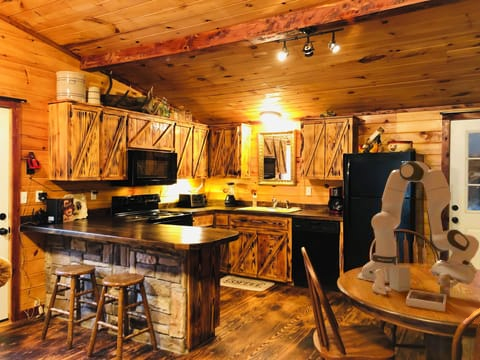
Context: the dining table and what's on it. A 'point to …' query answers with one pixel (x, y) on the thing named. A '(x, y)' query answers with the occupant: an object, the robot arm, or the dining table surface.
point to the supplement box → (400, 278)
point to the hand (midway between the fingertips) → (444, 285)
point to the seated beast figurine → (380, 283)
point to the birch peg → (445, 284)
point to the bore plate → (427, 297)
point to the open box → (426, 303)
